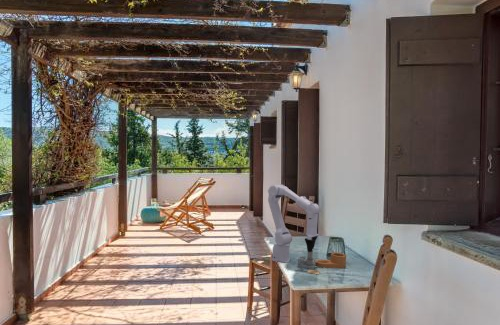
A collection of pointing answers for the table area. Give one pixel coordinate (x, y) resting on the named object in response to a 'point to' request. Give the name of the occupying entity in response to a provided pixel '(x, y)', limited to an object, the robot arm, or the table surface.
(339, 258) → the bracket
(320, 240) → the table surface
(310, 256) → the slotted grey block
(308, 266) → the vise
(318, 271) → the pad
